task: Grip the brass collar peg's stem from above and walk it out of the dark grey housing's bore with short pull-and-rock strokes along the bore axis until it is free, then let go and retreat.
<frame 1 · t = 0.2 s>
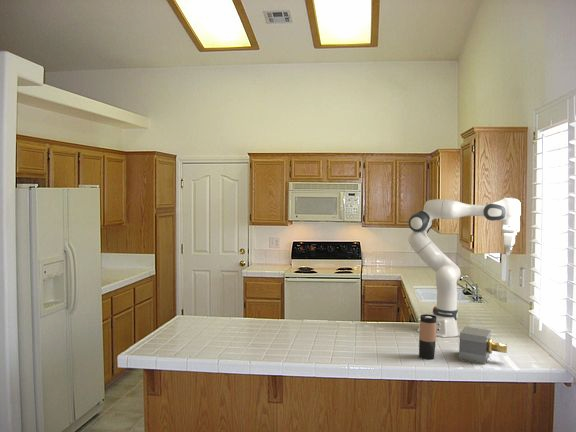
hand: (508, 254, 281), 48 cm above the worktop, tool pointing down, fingers open, 8 cm apart
travel mug: (426, 357, 255), on the worktop
housing: (474, 358, 256), on the worktop
brass collar peg: (489, 346, 253), point 7 cm above the worktop, slide at 0.0 cm
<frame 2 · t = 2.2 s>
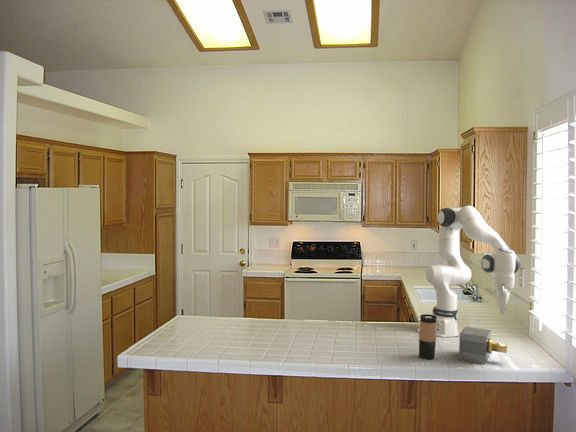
hand: (502, 312, 249), 24 cm above the worktop, tool pointing down, fingers open, 8 cm apart
nothing on the worktop moved.
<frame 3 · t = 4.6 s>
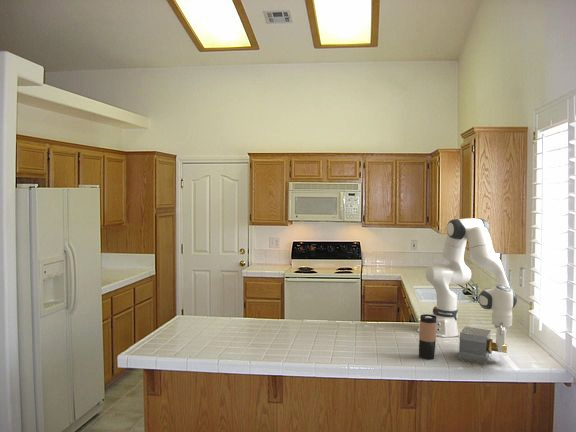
hand: (500, 349, 250), 6 cm above the worktop, tool pointing down, fingers closed on brass collar peg, 4 cm apart
brass collar peg: (489, 346, 253), point 7 cm above the worktop, slide at 0.0 cm, touching gripper
everything else where it was.
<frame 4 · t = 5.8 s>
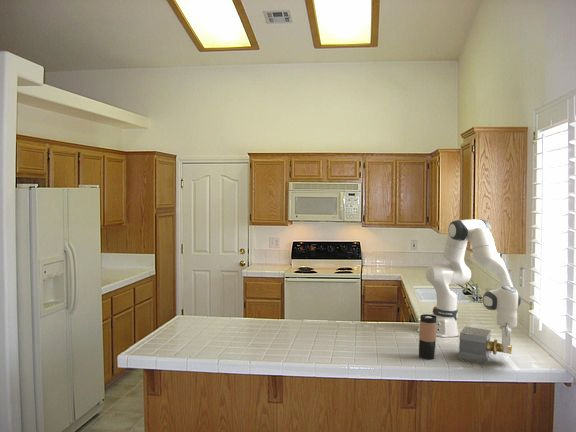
hand: (505, 350, 249), 6 cm above the worktop, tool pointing down, fingers closed on brass collar peg, 4 cm apart
brass collar peg: (494, 346, 252), point 7 cm above the worktop, slide at 2.1 cm, touching gripper
everything else where it was.
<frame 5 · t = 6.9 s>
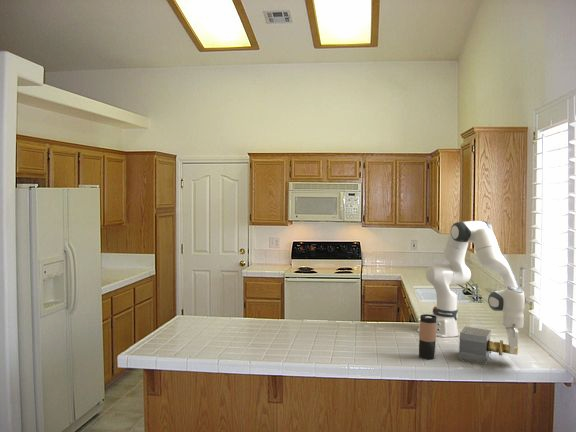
hand: (511, 351, 248), 6 cm above the worktop, tool pointing down, fingers closed on brass collar peg, 4 cm apart
brass collar peg: (500, 347, 250), point 7 cm above the worktop, slide at 4.7 cm, touching gripper
everything else where it was.
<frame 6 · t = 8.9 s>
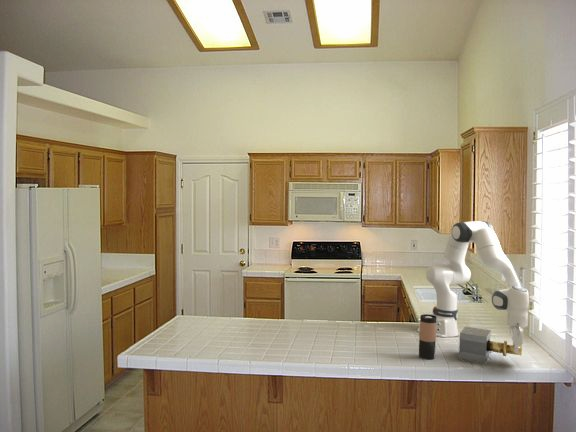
hand: (515, 350, 247), 7 cm above the worktop, tool pointing down, fingers closed on brass collar peg, 4 cm apart
brass collar peg: (503, 348, 250), point 7 cm above the worktop, slide at 6.4 cm, touching gripper
everything else where it was.
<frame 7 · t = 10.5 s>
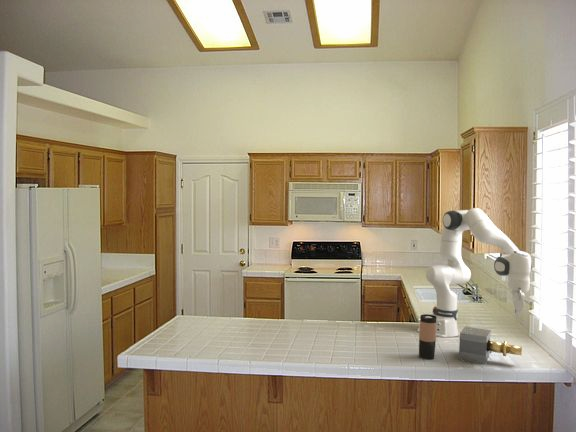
hand: (517, 315, 247), 23 cm above the worktop, tool pointing down, fingers open, 8 cm apart
brass collar peg: (503, 348, 250), point 7 cm above the worktop, slide at 6.4 cm
everything else where it was.
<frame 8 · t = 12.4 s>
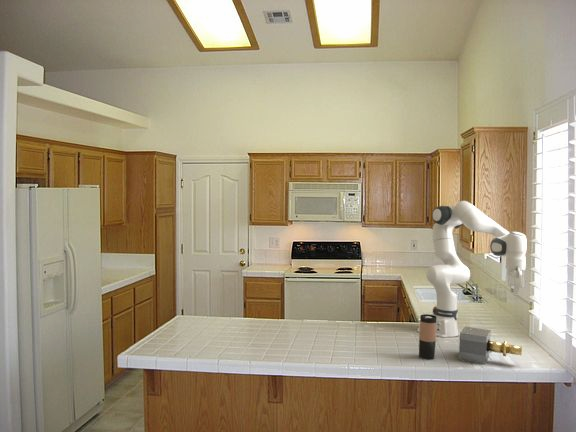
hand: (513, 293, 259), 31 cm above the worktop, tool pointing down, fingers open, 8 cm apart
nothing on the worktop moved.
at the end: brass collar peg slide at 6.4 cm; the gripper is holding nothing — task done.
